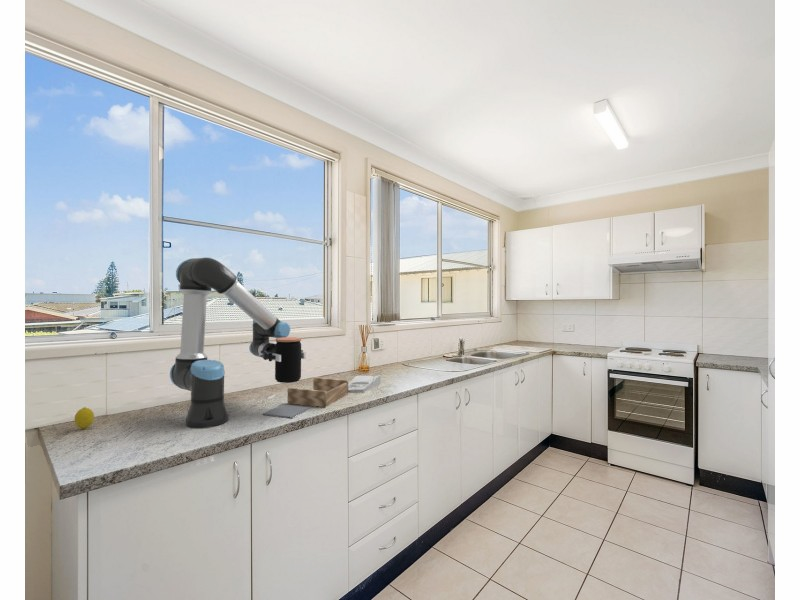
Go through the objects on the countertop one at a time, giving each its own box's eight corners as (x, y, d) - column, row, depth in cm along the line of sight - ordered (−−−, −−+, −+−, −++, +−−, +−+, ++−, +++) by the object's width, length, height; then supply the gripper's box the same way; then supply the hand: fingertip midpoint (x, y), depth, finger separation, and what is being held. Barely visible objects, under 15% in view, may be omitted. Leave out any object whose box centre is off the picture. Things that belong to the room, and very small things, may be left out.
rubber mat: (292, 418, 155) (292, 416, 155) (262, 414, 159) (262, 413, 159) (310, 408, 169) (310, 407, 169) (282, 405, 173) (282, 404, 173)
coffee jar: (306, 379, 165) (306, 338, 165) (285, 384, 157) (286, 340, 157) (290, 376, 172) (290, 336, 171) (269, 380, 163) (270, 338, 163)
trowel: (353, 396, 191) (353, 385, 191) (332, 391, 201) (332, 380, 201) (390, 386, 213) (390, 376, 213) (369, 382, 223) (369, 372, 223)
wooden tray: (348, 394, 194) (348, 380, 194) (325, 407, 171) (325, 391, 171) (314, 390, 200) (314, 377, 200) (287, 403, 176) (287, 388, 176)
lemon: (91, 425, 145) (91, 404, 145) (95, 428, 141) (95, 407, 141) (72, 429, 141) (72, 407, 141) (76, 432, 137) (76, 410, 137)
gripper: (292, 356, 185) (316, 362, 169) (244, 361, 169) (266, 369, 153) (292, 341, 185) (317, 345, 169) (244, 344, 169) (266, 350, 153)
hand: (292, 357), depth 161 cm, fingers closed on coffee jar, 11 cm apart
